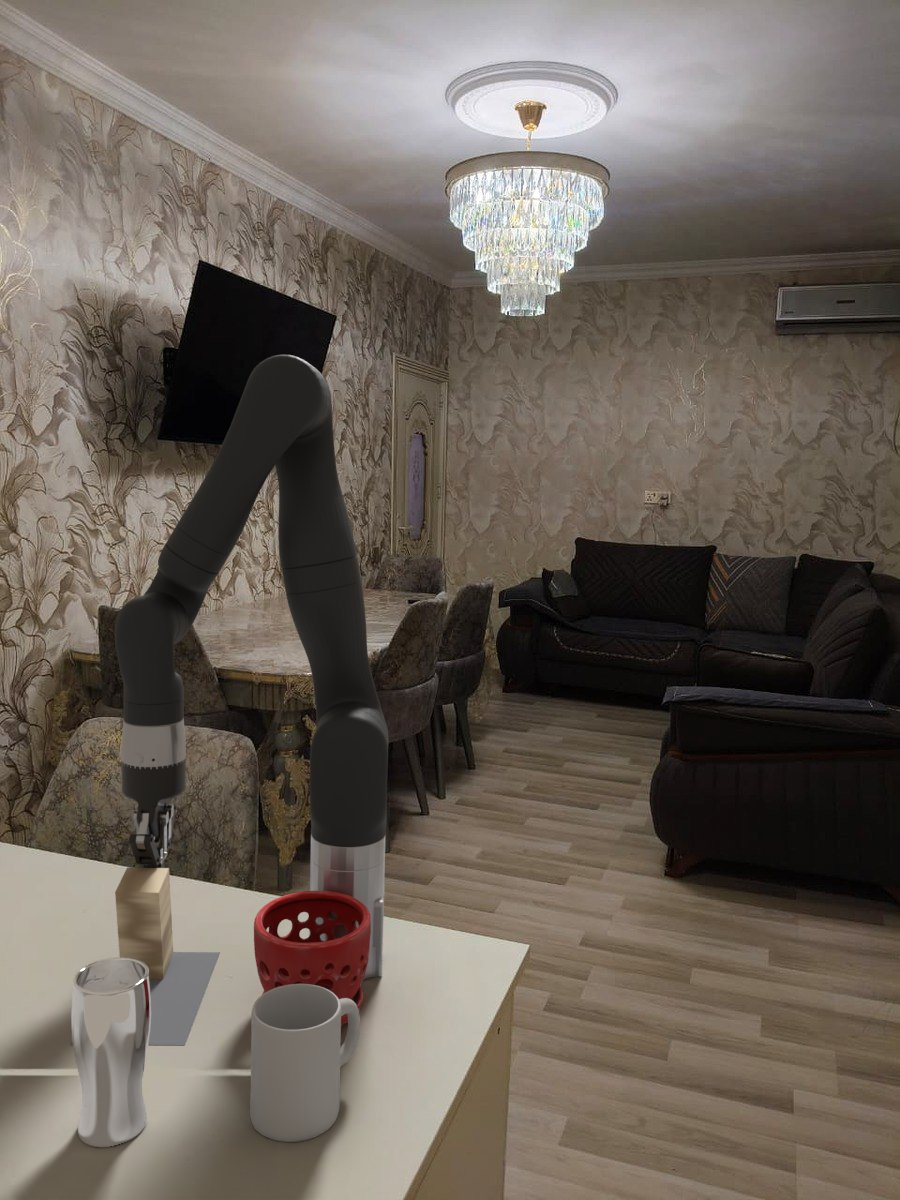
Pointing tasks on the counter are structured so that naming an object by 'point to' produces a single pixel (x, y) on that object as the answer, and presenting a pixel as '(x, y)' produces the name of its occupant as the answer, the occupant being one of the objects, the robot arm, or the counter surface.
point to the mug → (298, 1060)
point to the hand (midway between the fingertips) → (154, 890)
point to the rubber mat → (179, 996)
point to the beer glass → (111, 1048)
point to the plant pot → (314, 944)
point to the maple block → (145, 918)
